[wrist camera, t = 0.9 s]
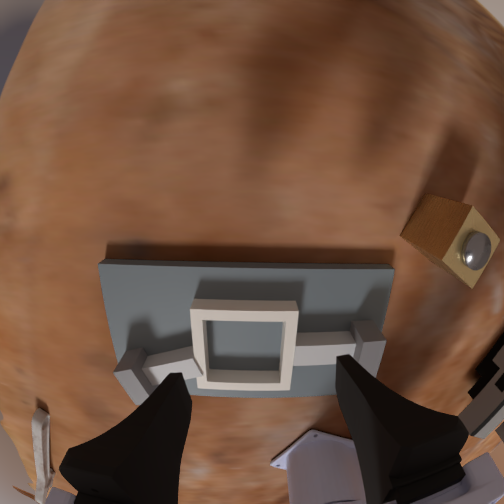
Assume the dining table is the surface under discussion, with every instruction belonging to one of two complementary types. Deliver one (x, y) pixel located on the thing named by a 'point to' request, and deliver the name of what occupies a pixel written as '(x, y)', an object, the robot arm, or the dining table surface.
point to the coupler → (452, 237)
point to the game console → (487, 396)
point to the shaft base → (243, 324)
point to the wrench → (42, 454)
